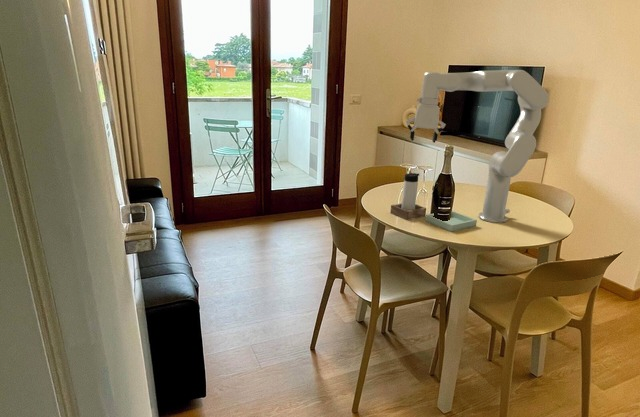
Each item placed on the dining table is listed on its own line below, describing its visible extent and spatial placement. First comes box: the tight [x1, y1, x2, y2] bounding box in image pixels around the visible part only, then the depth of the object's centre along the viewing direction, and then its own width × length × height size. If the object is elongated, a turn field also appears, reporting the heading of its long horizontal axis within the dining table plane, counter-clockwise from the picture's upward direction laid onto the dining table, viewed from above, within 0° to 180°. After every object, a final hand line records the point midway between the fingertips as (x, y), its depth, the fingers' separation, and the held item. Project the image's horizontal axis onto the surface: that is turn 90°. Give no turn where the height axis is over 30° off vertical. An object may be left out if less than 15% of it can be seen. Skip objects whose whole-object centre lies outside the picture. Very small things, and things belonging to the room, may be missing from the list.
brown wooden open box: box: [390, 202, 427, 221], centre depth 198 cm, size 12×11×4 cm
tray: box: [425, 210, 478, 233], centre depth 189 cm, size 16×15×3 cm
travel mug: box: [401, 172, 420, 211], centre depth 196 cm, size 6×7×20 cm
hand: (422, 141), depth 188 cm, fingers open, 9 cm apart
